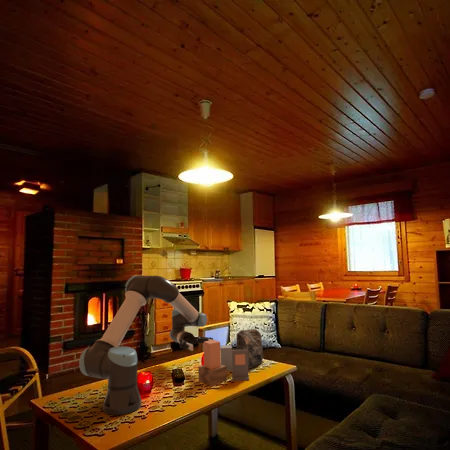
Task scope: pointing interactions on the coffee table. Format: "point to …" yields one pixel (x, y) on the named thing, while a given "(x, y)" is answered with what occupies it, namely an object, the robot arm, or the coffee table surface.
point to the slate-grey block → (226, 356)
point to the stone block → (251, 345)
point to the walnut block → (212, 375)
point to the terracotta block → (212, 354)
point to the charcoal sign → (240, 365)
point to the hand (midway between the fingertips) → (204, 345)
